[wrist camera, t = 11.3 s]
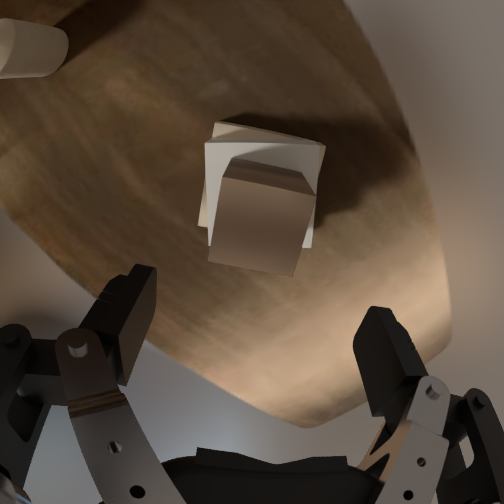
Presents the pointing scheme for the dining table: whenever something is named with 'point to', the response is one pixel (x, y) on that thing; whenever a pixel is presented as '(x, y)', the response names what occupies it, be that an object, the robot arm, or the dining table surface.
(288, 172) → the walnut block
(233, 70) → the dining table surface
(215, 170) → the slab upper
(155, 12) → the dining table surface
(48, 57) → the candle
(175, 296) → the dining table surface
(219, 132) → the slab lower
